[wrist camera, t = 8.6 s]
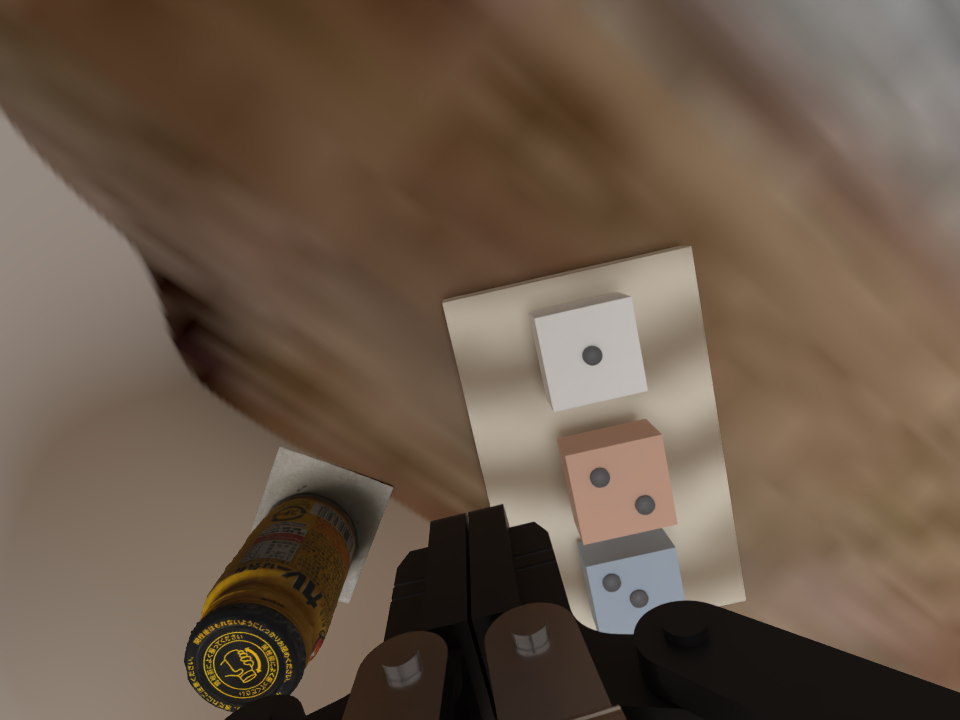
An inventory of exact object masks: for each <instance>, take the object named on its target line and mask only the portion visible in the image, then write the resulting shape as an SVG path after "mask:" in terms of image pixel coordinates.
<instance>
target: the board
mask: <svg viewBox="0 0 960 720" xmlns="http://www.w3.org/2000/svg"><path fill="white" fill-rule="evenodd" d="M615 292H619V293H622V294H625V295H628V296H631V297H632V302H633V308H634V314H635V319H636V325H637V331H638V336H639V342H640V348H641V353H642V359H643V365H644V371H645V376H646V382H647V388H648V391H645V392H641V393H636V394H632V395H628V396H623V397H619V398H614V399H610V400H605V401H601V402H596V403H592V404H587V405H583V406H578V407H574V408H569V409H565V410H561V411H556V412H553V410H552V408H551V406H550V404H549V402H548V400H547V399H546V394H545V389H544V384H543V380H542V375H541V370H540V365H539V360H538V356H537V351H536V346H535V341H534V337H533V332H532V327H531V322H530V318H529V313H528V312H531V311H536V310H540V309H545V308H549V307H554V306H558V305H562V304H567V303H571V302H576V301H580V300H584V299H589V298H593V297H598V296H602V295H606V294H611V293H615ZM442 304H443V308H444V312H445V317H446V321H447V325H448V329H449V334H450V338H451V342H452V346H453V350H454V355H455V359H456V363H457V367H458V372H459V376H460V380H461V384H462V389H463V393H464V397H465V401H466V405H467V410H468V414H469V418H470V422H471V427H472V431H473V435H474V439H475V443H476V448H477V452H478V456H479V460H480V465H481V469H482V473H483V477H484V481H485V486H486V490H487V494H488V498H489V503H490V507H492V506H496V505H500V504H503V505H504V508H505V511H506V515H507V519H508V523H509V527H513V526H517V525H522V524H526V523H530V522H536V523H537V524H538V525H540V526H541V527H542V528H544V529H545V530H546V531H548V533H549V537H550V540H551V543H552V547H553V550H554V554H555V557H556V561H557V564H558V567H559V571H560V574H561V578H562V581H563V585H564V588H565V591H566V595H567V598H568V602H569V605H570V609H571V611H572V613H573V615H574V616H575V618H576V619H577V620H578V621H579V622H580V623H582V624H583V625H585V626H586V627H588V628H591V629H593V630H596V631H597V629H596V626H595V623H594V620H593V617H592V613H591V608H590V603H589V599H588V594H587V589H586V584H585V580H584V575H583V570H582V565H581V561H580V556H579V551H578V546H577V542H581V541H582V540H581V537H580V535H579V532H578V530H577V527H576V525H575V522H574V519H573V514H572V509H571V504H570V500H569V495H568V490H567V485H566V480H565V476H564V471H563V466H562V461H561V457H560V452H559V447H558V442H557V438H562V437H566V436H571V435H575V434H580V433H584V432H589V431H593V430H598V429H602V428H606V427H611V426H615V425H620V424H624V423H629V422H633V421H638V420H642V419H647V420H648V421H649V422H650V423H651V424H652V425H653V426H654V427H655V428H656V429H657V430H658V431H659V432H660V433H661V434H662V437H663V443H664V448H665V454H666V460H667V466H668V471H669V477H670V483H671V489H672V495H673V500H674V506H675V512H676V518H677V523H678V524H677V525H672V526H668V527H663V530H664V531H665V533H666V534H667V536H668V537H669V538H670V540H671V541H672V543H673V544H674V546H675V547H676V552H677V558H678V563H679V569H680V575H681V580H682V586H683V592H684V597H685V600H691V601H700V602H705V603H709V604H712V605H715V606H723V605H728V604H732V603H737V602H741V601H746V597H745V591H744V584H743V578H742V571H741V565H740V558H739V552H738V546H737V539H736V533H735V526H734V520H733V513H732V507H731V500H730V494H729V487H728V481H727V474H726V468H725V461H724V455H723V448H722V442H721V435H720V429H719V422H718V416H717V409H716V403H715V396H714V390H713V384H712V377H711V371H710V364H709V358H708V351H707V345H706V338H705V332H704V325H703V319H702V312H701V306H700V299H699V293H698V286H697V280H696V273H695V267H694V260H693V254H692V247H691V246H676V247H672V248H668V249H663V250H659V251H654V252H650V253H646V254H641V255H637V256H632V257H628V258H624V259H619V260H615V261H610V262H606V263H602V264H597V265H593V266H588V267H584V268H580V269H575V270H571V271H566V272H562V273H558V274H553V275H549V276H544V277H540V278H536V279H531V280H527V281H522V282H518V283H514V284H509V285H505V286H500V287H496V288H492V289H487V290H483V291H478V292H474V293H470V294H465V295H461V296H456V297H452V298H448V299H443V302H442Z"/></svg>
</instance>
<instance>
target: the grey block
mask: <svg viewBox="0 0 960 720" xmlns="http://www.w3.org/2000/svg"><path fill="white" fill-rule="evenodd" d="M577 546H578V551H579V556H580V561H581V565H582V570H583V575H584V580H585V584H586V589H587V594H588V599H589V603H590V608H591V613H592V617H593V620H594V623H595V626H596V629H597V631H599V632H604V633H610V634H634V629H635V626H636V624H637V622H638V621H639V619H640V618H641V617H642V616H643V615H644V614H645V613H647V612H648V611H649V610H651V609H653V608H654V607H657V606H659V605H662V604H665V603H668V602H673V601H683V600H685V597H684V592H683V586H682V580H681V575H680V569H679V563H678V558H677V552H676V547H675V546H674V544H673V543H672V541H671V540H670V538H669V537H668V536H667V534H666V533H665V531H664V530H663V528H659V529H654V530H650V531H645V532H641V533H636V534H632V535H627V536H623V537H618V538H614V539H609V540H605V541H600V542H595V543H591V544H586V545H583V542H582V541H581V542H577Z"/></svg>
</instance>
